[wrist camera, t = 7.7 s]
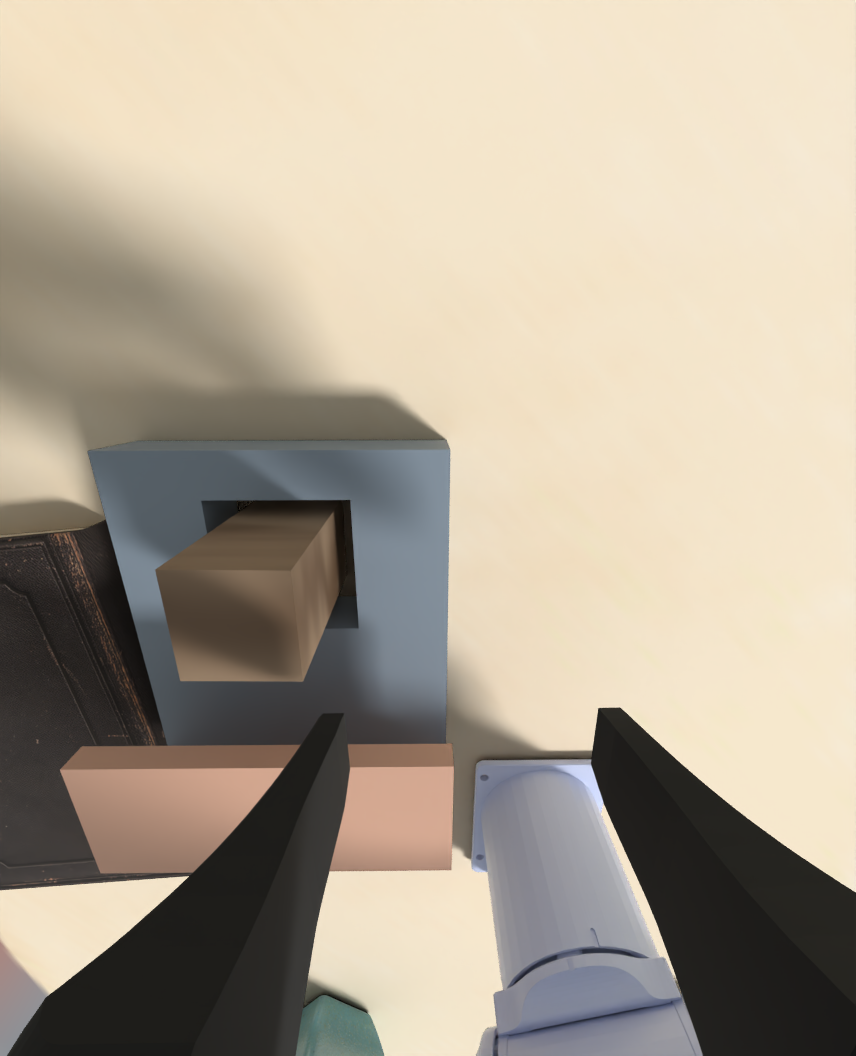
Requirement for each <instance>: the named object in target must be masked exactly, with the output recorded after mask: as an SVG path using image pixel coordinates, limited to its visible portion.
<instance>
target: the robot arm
mask: <svg viewBox="0 0 856 1056" xmlns="http://www.w3.org/2000/svg"><path fill="white" fill-rule="evenodd" d="M349 773H350V762H349V753H348V743H347V734H346V724H345V715H344V713H323V714H322V715H321V716H320V717H319V718H318V720H317V721H316V723H315V724H314V726H313V727H312V729H311V731H310V732H309V734H308V735H307V737H306V738H305V740H304V741H303V743H302V744H301V745H300V747H299V748H298V750H297V751H296V753H295V754H294V755H293V757H292V758H291V759H290V761H289V762H288V764H287V765H286V766H285V768H284V769H283V770H282V772H281V773H280V774H279V776H278V777H277V778H276V780H275V781H274V782H273V784H272V785H271V786H270V787H269V789H268V790H267V791H266V792H265V794H264V795H263V796H262V797H261V799H260V800H259V801H258V802H257V803H256V805H255V806H254V807H253V808H252V810H251V811H250V812H249V813H248V814H247V816H246V817H245V818H244V819H243V820H242V821H241V822H240V824H239V825H238V826H237V827H236V828H235V829H234V830H233V831H232V833H231V834H230V835H229V836H228V837H227V838H226V839H225V840H224V841H223V842H222V843H221V844H220V846H219V847H218V848H217V849H216V850H215V851H214V852H213V853H212V854H211V855H210V856H209V857H208V858H207V859H206V860H205V861H204V862H203V863H202V864H201V865H200V866H199V867H198V868H197V869H196V870H195V871H194V872H193V873H192V874H191V875H190V876H189V877H188V878H187V879H186V880H185V881H184V882H183V883H182V884H181V885H180V886H179V887H178V888H176V889H175V890H174V891H173V892H172V893H171V894H170V895H169V896H168V897H167V898H166V899H165V900H163V901H162V902H161V903H160V904H159V905H158V906H157V907H156V908H154V909H153V910H152V911H151V912H150V913H149V914H148V915H147V916H145V917H144V918H143V919H142V920H141V921H140V922H139V923H138V924H136V925H135V926H134V927H133V928H132V929H131V930H130V931H129V932H127V933H126V934H125V935H124V936H123V937H121V938H120V939H119V940H118V941H117V942H116V943H114V944H113V945H112V946H111V947H110V948H108V949H107V950H106V951H104V952H103V953H102V954H101V955H99V956H98V957H97V958H96V959H94V960H93V961H92V962H91V963H89V964H88V965H87V966H86V967H84V968H83V969H82V970H81V971H79V972H78V973H77V974H76V975H74V976H73V977H72V978H71V979H69V980H68V981H67V982H66V983H64V984H63V985H62V986H60V987H59V988H58V989H57V990H55V991H54V992H53V993H51V994H50V995H49V996H47V997H46V998H45V1000H44V1001H43V1003H42V1004H41V1006H40V1007H39V1009H38V1010H37V1011H36V1013H35V1014H34V1016H33V1017H32V1019H31V1020H30V1021H29V1023H28V1024H27V1025H26V1027H25V1028H24V1030H23V1031H22V1033H21V1034H20V1036H19V1038H18V1039H17V1041H16V1042H15V1044H14V1045H13V1047H12V1049H11V1050H10V1052H9V1053H8V1055H7V1056H296V1050H297V1043H298V1037H299V1030H300V1024H301V1017H302V1011H303V1005H304V998H305V992H306V986H307V979H308V973H309V967H310V961H311V955H312V949H313V943H314V937H315V931H316V926H317V921H318V917H319V912H320V907H321V903H322V899H323V895H324V891H325V886H326V882H327V878H328V874H329V870H330V866H331V862H332V858H333V854H334V850H335V846H336V842H337V838H338V833H339V829H340V825H341V821H342V817H343V813H344V808H345V802H346V795H347V788H348V781H349ZM603 803H604V805H605V807H606V810H607V812H608V814H609V816H610V819H611V821H612V823H613V825H614V828H615V830H616V832H617V834H618V837H619V839H620V841H621V843H622V845H623V848H624V850H625V852H626V854H627V856H628V859H629V861H630V863H631V865H632V868H633V870H634V872H635V874H636V876H637V879H638V881H639V883H640V885H641V887H642V890H643V892H644V894H645V896H646V898H647V901H648V903H649V906H650V908H651V910H652V913H653V915H654V918H655V920H656V923H657V925H658V928H659V931H660V934H661V936H662V939H663V942H664V945H665V947H666V950H667V953H668V956H669V958H670V961H671V964H672V967H673V969H674V972H675V975H676V978H677V981H678V984H679V987H680V989H681V993H682V997H681V995H680V992H679V990H678V987H677V985H676V983H675V980H674V978H673V975H672V973H671V971H670V968H669V966H668V964H667V961H666V959H665V958H664V957H659V954H658V952H657V949H656V947H655V944H654V942H653V940H652V937H651V935H650V932H649V930H648V927H647V925H646V922H645V920H644V918H643V915H642V913H641V910H640V908H639V905H638V903H637V900H636V898H635V896H634V893H633V891H632V888H631V886H630V883H629V881H628V878H627V876H626V874H625V871H624V869H623V866H622V864H621V861H620V859H619V857H618V854H617V852H616V849H615V847H614V844H613V842H612V839H611V837H610V835H609V832H608V830H607V827H606V825H605V822H604V820H603V817H602V815H601V812H602V807H603ZM471 865H472V869H473V870H474V871H476V872H488V880H489V888H490V896H491V904H492V912H493V920H494V928H495V935H496V943H497V951H498V959H499V967H500V975H501V981H502V986H503V990H502V991H499V992H495V993H494V995H493V996H494V1005H495V1014H496V1023H497V1026H495V1027H490V1028H487V1029H486V1030H485V1031H484V1033H483V1035H482V1038H481V1042H480V1046H479V1049H478V1051H477V1054H476V1056H856V892H854V891H852V890H851V889H849V888H848V887H846V886H844V885H843V884H841V883H840V882H838V881H837V880H835V879H834V878H832V877H831V876H829V875H827V874H826V873H824V872H823V871H821V870H820V869H818V868H817V867H815V866H814V865H812V864H811V863H809V862H808V861H806V860H805V859H803V858H802V857H800V856H799V855H797V854H796V853H795V852H793V851H792V850H790V849H789V848H787V847H786V846H784V845H783V844H782V843H780V842H779V841H777V840H776V839H775V838H773V837H772V836H771V835H769V834H768V833H767V832H765V831H764V830H762V829H761V828H760V827H758V826H757V825H756V824H754V823H753V822H752V821H750V820H749V819H748V818H746V817H745V816H744V815H742V814H741V813H740V812H738V811H737V810H736V809H735V808H733V807H732V806H731V805H730V804H728V803H727V802H726V801H725V800H723V799H722V798H721V797H720V796H719V795H717V794H716V793H715V792H714V791H712V790H711V789H710V788H709V787H708V786H706V785H705V784H704V783H703V782H702V781H700V780H699V779H698V778H697V777H696V776H695V775H693V774H692V773H691V772H690V771H689V770H688V769H687V768H685V767H684V766H683V765H682V764H681V763H680V762H679V761H677V760H676V759H675V758H674V757H673V756H672V755H671V754H670V753H669V752H668V751H666V750H665V749H664V748H663V747H662V746H661V745H660V744H659V743H658V742H657V741H656V740H654V739H653V738H652V737H651V736H650V735H649V734H648V733H647V732H646V731H645V730H644V729H643V728H642V727H641V726H639V725H638V724H637V723H636V722H635V721H634V720H633V719H632V718H631V717H630V716H629V715H628V714H627V713H625V712H624V711H623V710H622V709H621V708H598V715H597V723H596V730H595V737H594V744H593V751H592V758H591V759H571V760H482V761H480V762H478V763H477V764H476V770H475V792H474V813H473V834H472V855H471ZM682 998H683V1000H682ZM683 1001H684V1002H683Z"/></svg>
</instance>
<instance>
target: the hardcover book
mask: <svg viewBox="0 0 856 1056" xmlns="http://www.w3.org/2000/svg"><path fill="white" fill-rule="evenodd" d="M82 746H168V745H167V742H166V738H165V734H164V731H163V727H162V723H161V720H160V716H159V712H158V709H157V705H156V701H155V698H154V694H153V690H152V687H151V683H150V679H149V675H148V672H147V668H146V664H145V661H144V657H143V653H142V650H141V646H140V642H139V639H138V635H137V631H136V628H135V624H134V620H133V617H132V613H131V609H130V606H129V602H128V598H127V595H126V591H125V587H124V584H123V580H122V576H121V573H120V569H119V565H118V561H117V558H116V554H115V550H114V547H113V543H112V539H111V536H110V532H109V528H108V525H107V521H106V520H104V521H102V522H100V523H98V524H95V525H93V526H90V527H84V528H74V529H63V530H53V531H42V532H32V533H21V534H11V535H1V536H0V890H9V889H23V888H36V887H49V886H62V885H76V884H89V883H102V882H115V881H129V880H142V879H155V878H168V877H182V876H190V875H191V874H192V873H100V871H99V868H98V866H97V863H96V861H95V858H94V856H93V853H92V850H91V848H90V845H89V843H88V840H87V838H86V835H85V833H84V830H83V828H82V825H81V822H80V820H79V817H78V815H77V812H76V810H75V807H74V805H73V802H72V800H71V797H70V794H69V792H68V789H67V787H66V784H65V782H64V779H63V777H62V774H61V772H60V769H61V768H62V767H63V766H64V765H65V764H66V763H67V762H68V761H69V760H70V758H71V757H72V756H73V755H74V754H75V753H76V752H77V751H78V750H79V749H80V748H81V747H82Z"/></svg>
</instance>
